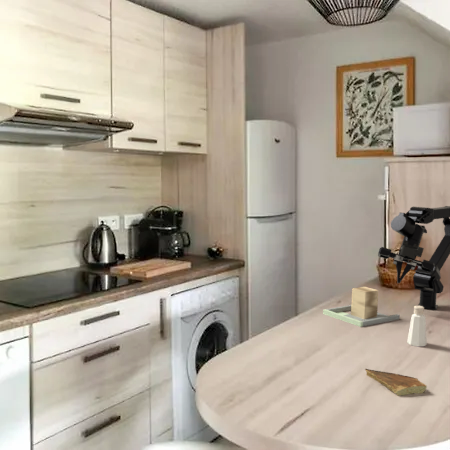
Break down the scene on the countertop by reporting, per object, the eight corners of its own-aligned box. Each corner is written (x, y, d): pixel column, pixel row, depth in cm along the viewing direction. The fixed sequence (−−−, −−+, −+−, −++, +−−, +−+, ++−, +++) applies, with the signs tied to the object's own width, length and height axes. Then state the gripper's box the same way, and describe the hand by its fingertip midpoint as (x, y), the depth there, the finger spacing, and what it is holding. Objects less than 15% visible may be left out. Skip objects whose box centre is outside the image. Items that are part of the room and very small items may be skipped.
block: (363, 312, 183) (364, 286, 182) (377, 316, 178) (378, 290, 177) (350, 314, 180) (352, 288, 179) (364, 319, 175) (365, 292, 174)
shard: (364, 375, 131) (364, 367, 131) (397, 372, 134) (397, 363, 133) (395, 398, 118) (396, 388, 118) (431, 394, 121) (431, 384, 121)
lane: (360, 310, 190) (361, 303, 190) (399, 322, 176) (399, 314, 176) (322, 317, 181) (323, 309, 180) (360, 330, 166) (360, 322, 166)
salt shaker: (428, 347, 151) (430, 309, 150) (408, 345, 153) (410, 308, 151) (425, 341, 157) (427, 304, 156) (405, 340, 158) (407, 303, 157)
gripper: (385, 228, 182) (371, 271, 180) (442, 244, 177) (428, 289, 174) (384, 234, 193) (371, 275, 191) (438, 250, 187) (425, 292, 185)
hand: (398, 282), depth 185 cm, fingers closed
